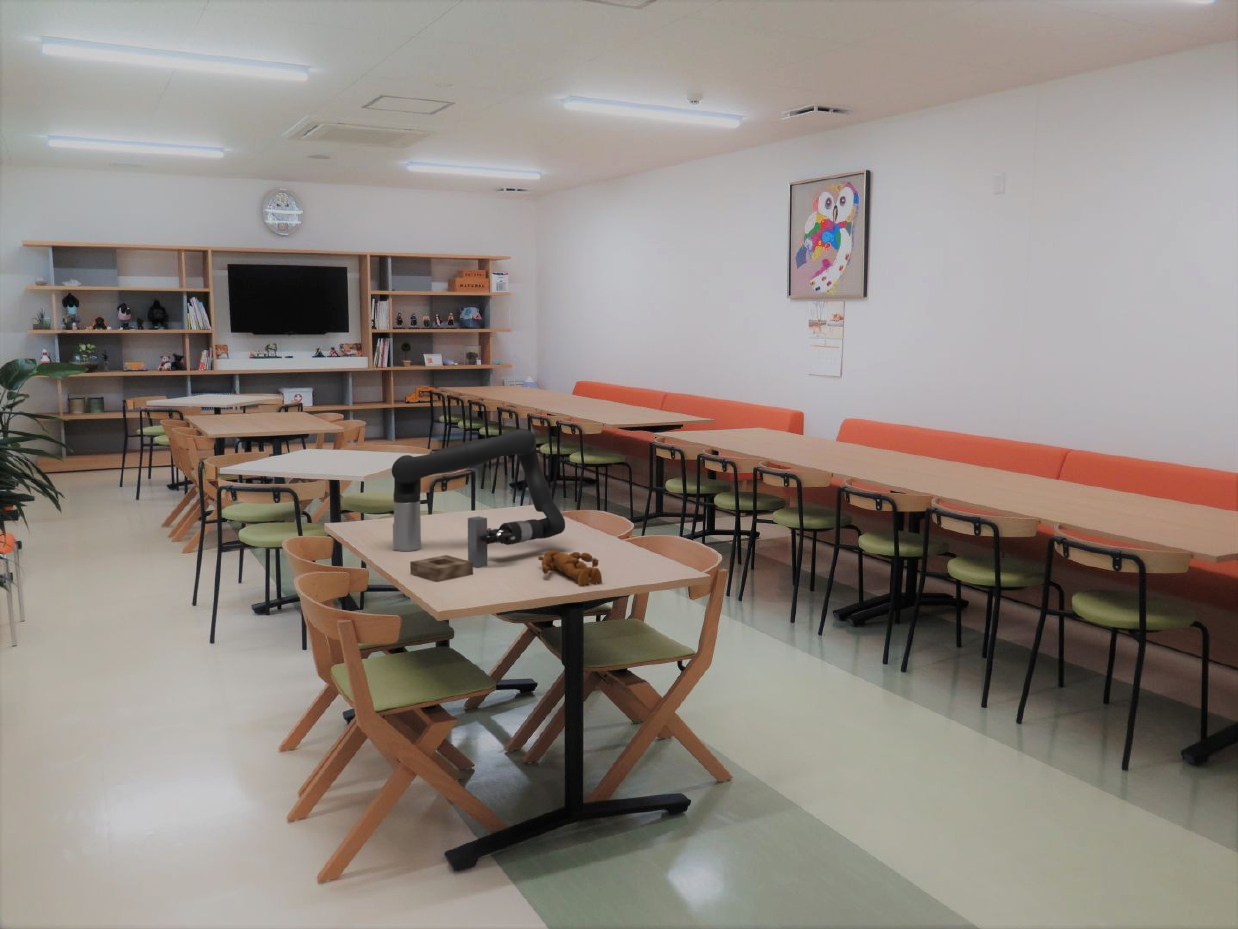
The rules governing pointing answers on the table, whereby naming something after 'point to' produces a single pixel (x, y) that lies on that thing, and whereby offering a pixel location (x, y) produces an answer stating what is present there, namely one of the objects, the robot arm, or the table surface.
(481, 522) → the post
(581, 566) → the toy
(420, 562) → the wooden block with hole
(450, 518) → the table surface
